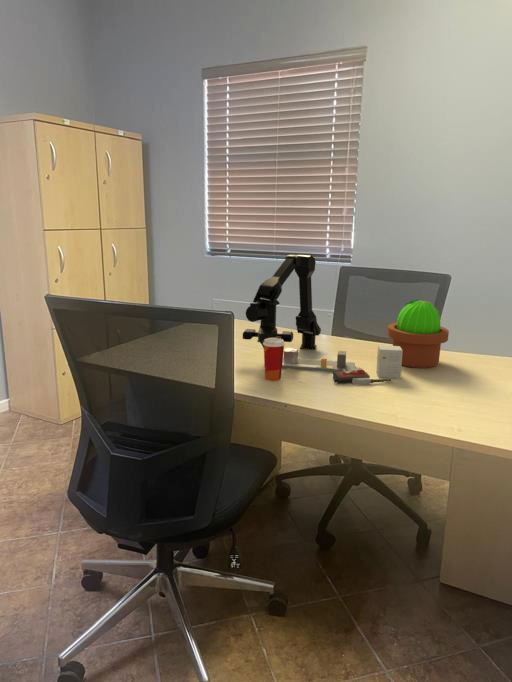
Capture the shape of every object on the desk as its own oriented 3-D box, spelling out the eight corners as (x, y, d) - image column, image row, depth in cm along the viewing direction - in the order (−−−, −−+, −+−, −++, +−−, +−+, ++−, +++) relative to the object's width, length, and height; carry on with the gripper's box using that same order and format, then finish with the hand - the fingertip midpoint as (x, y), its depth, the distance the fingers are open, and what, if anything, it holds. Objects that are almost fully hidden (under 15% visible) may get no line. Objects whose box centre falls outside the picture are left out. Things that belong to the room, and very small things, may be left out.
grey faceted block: (285, 359, 202) (285, 347, 200) (297, 359, 201) (298, 348, 200) (282, 364, 195) (282, 353, 193) (295, 365, 194) (295, 353, 193)
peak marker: (321, 364, 194) (321, 357, 193) (326, 365, 194) (327, 357, 193) (320, 366, 192) (321, 358, 191) (326, 366, 192) (326, 359, 191)
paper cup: (272, 373, 189) (273, 336, 186) (288, 378, 184) (289, 340, 180) (257, 378, 184) (257, 339, 180) (273, 383, 179) (274, 344, 175)
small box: (398, 373, 191) (400, 345, 188) (400, 378, 186) (403, 350, 183) (375, 372, 192) (378, 345, 189) (377, 377, 186) (380, 349, 184)
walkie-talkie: (336, 387, 177) (392, 384, 180) (337, 375, 176) (393, 372, 179) (328, 379, 185) (382, 376, 188) (329, 367, 184) (383, 365, 187)
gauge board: (277, 360, 205) (277, 344, 204) (354, 365, 199) (355, 350, 198) (273, 367, 196) (273, 351, 194) (354, 373, 190) (355, 357, 188)
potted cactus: (456, 367, 199) (464, 302, 193) (408, 372, 192) (414, 306, 185) (420, 351, 219) (426, 292, 213) (375, 356, 212) (379, 295, 205)
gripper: (239, 320, 190) (239, 361, 194) (290, 323, 187) (288, 365, 191) (246, 314, 201) (245, 353, 205) (294, 317, 197) (292, 356, 201)
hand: (267, 357), depth 200 cm, fingers closed
